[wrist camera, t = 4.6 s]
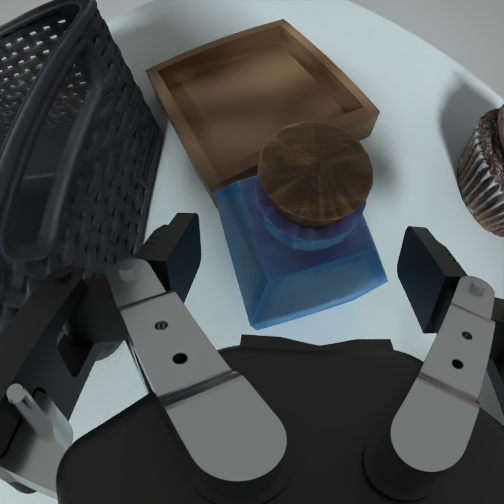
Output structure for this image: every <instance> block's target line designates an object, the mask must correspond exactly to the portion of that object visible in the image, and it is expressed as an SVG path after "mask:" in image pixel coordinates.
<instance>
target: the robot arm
mask: <svg viewBox="0 0 504 504" xmlns="http://www.w3.org/2000/svg"><path fill="white" fill-rule="evenodd" d="M200 261H201V243H200V229H199V218H198V214H197V213H177V214H176V216H175V217H174V218H173V220H172V221H171V222H170V224H169V225H163V226H161V227H159V228H158V229H156V230H154V232H153V233H152V234H151V235H150V237H149V239H147V241H146V242H145V244H143V246H142V247H141V248H140V250H139V251H138V252H137V254H136V255H135V256H134V258H133V259H126V260H122V261H119V262H117V263H115V264H113V265H112V266H111V267H110V268H109V269H108V270H107V273H106V276H107V277H101V278H92V279H85V277H84V274H83V270H82V269H81V268H80V267H77V266H65V267H61V268H58V269H56V270H54V271H53V272H51V273H50V274H49V275H48V276H47V277H46V278H45V279H44V280H43V281H42V282H41V284H40V285H39V286H38V287H37V288H36V290H35V291H34V292H33V293H32V294H31V296H30V297H29V298H28V299H27V301H26V302H25V303H24V304H23V306H22V307H21V308H20V309H19V311H18V312H17V313H16V314H15V316H14V317H13V318H12V320H11V321H10V322H9V324H8V325H7V326H6V328H5V329H4V330H3V332H2V333H1V334H0V479H1V480H3V481H6V482H7V483H8V484H10V485H11V486H12V487H14V488H15V489H17V490H18V491H20V492H22V493H27V494H30V493H34V492H37V491H38V492H40V493H42V494H45V495H47V496H49V497H52V498H54V499H57V500H58V504H504V426H503V425H502V424H500V423H499V422H498V421H497V420H496V419H494V418H493V417H492V416H491V415H489V414H488V413H487V412H486V411H485V410H483V409H482V408H481V407H480V403H479V402H478V397H479V394H480V390H481V386H482V383H483V379H484V375H485V371H486V369H487V372H488V374H489V377H490V379H491V382H492V384H493V387H494V390H495V392H496V395H497V398H498V401H499V403H500V406H501V409H502V412H503V415H504V299H500V298H496V297H495V292H494V290H493V288H492V287H491V286H490V285H489V284H488V283H487V282H485V281H483V280H482V279H480V278H477V277H473V276H468V275H467V274H466V273H465V271H464V270H463V269H462V267H461V266H460V265H459V263H458V262H456V259H455V258H454V257H453V256H452V254H451V253H450V252H449V250H448V249H447V248H446V247H445V246H444V245H442V244H441V243H439V242H438V241H437V240H436V239H435V238H434V237H433V235H432V234H431V233H430V232H429V230H428V229H427V228H423V227H412V226H409V227H407V229H406V231H405V235H404V239H403V243H402V247H401V252H400V256H399V260H398V265H397V273H398V277H399V280H400V282H401V284H402V286H403V288H404V290H405V292H406V295H407V297H408V299H409V301H410V303H411V306H412V308H413V310H414V312H415V315H416V317H417V319H418V322H419V324H420V326H421V329H422V331H423V333H437V336H436V338H435V340H434V342H433V344H432V346H431V348H430V351H429V353H428V355H427V357H426V359H425V361H424V362H423V361H421V360H419V359H417V358H415V357H413V356H411V355H409V354H406V353H403V352H400V351H395V350H393V346H392V343H391V340H390V339H356V340H350V341H345V342H340V343H334V344H328V345H322V346H318V345H313V344H308V343H304V342H299V341H295V340H291V339H287V338H282V337H273V336H257V335H243V334H242V336H241V342H240V345H238V346H232V347H227V348H223V349H220V350H216V349H215V347H214V346H213V345H212V343H211V342H210V341H209V339H208V338H207V336H206V335H205V334H204V332H203V331H202V329H201V328H200V327H199V325H198V324H197V322H196V321H195V320H194V318H193V317H192V315H191V314H190V312H189V311H188V310H187V308H186V307H185V305H184V302H185V299H186V297H187V294H188V292H189V290H190V287H191V285H192V282H193V280H194V278H195V275H196V273H197V271H198V268H199V266H200ZM61 328H63V331H64V335H63V337H62V338H61V340H60V342H59V343H58V345H57V336H58V333H59V332H60V330H61ZM123 340H125V341H126V344H127V346H128V349H129V351H130V354H131V356H132V358H133V361H134V363H135V366H136V368H137V370H138V373H139V375H140V377H141V380H142V382H143V384H144V387H145V389H146V392H147V395H146V396H144V397H143V398H141V399H140V400H138V401H137V402H135V403H134V404H132V405H131V406H129V407H128V408H126V409H125V410H123V411H121V412H120V413H118V414H117V415H115V416H114V417H112V418H111V419H109V420H107V421H106V422H104V423H103V424H101V425H99V426H98V427H96V428H95V429H93V430H91V431H90V432H88V433H86V434H85V435H83V436H82V437H80V438H79V439H77V440H76V441H75V442H74V443H73V444H72V441H73V430H72V427H71V425H70V423H69V422H68V421H69V419H70V417H71V414H72V412H73V409H74V407H75V405H76V403H77V400H78V398H79V396H80V393H81V391H82V389H83V387H84V384H85V382H86V380H87V378H88V376H89V374H90V371H91V369H92V367H93V365H94V363H95V361H96V359H97V357H98V354H99V352H100V350H101V348H102V346H103V344H104V342H113V341H123Z"/></svg>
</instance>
